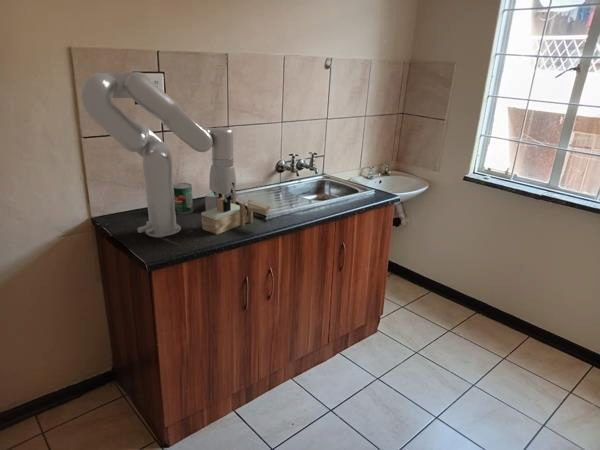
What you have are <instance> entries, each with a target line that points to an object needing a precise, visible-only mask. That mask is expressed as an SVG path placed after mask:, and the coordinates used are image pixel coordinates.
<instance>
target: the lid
mask: <svg viewBox="0 0 600 450" xmlns="http://www.w3.org/2000/svg"><path fill="white" fill-rule="evenodd" d="M223 202H225V201H224V197H222V198H219V199H217V208H214V209H211V210H208V211H206V210H204V211H202V212H201V213H200V214H201V217H202V216H205V217H208V218H211V219H214V220H217V219H220V218H223V217H226V216H229V215H232V214H235V213H238V212H240V204H237V203H236V204H233V203H231V210H230V211H227V212H224V210H223Z"/></svg>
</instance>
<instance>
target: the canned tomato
mask: <svg viewBox="0 0 600 450" xmlns="http://www.w3.org/2000/svg"><path fill="white" fill-rule="evenodd" d="M173 188H174V200H175V214H181V215H183V214H184V215H185V214H189V213H192V212H194V202H193V185H192V184H191V183H187V182H178V183H173Z"/></svg>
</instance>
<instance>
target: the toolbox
mask: <svg viewBox="0 0 600 450" xmlns="http://www.w3.org/2000/svg"><path fill="white" fill-rule="evenodd" d="M236 198H237V197H234V198H233V199H232V201H231V203H233V204H236V205H237V201H236ZM250 201H254V200H253V199H248V200H247V203H248V202H250ZM239 206H240V212H238V213H235V214H232V215H229V216H226V217H223V218H220V219H217V220H214V219H211V218H208V217H205V216H202V215H201V229H202V230H204V231H207V232H208V233H209V232H210V233H212V234H215V235H219V234H222V233H224V232H227V231H229V230H233V229H234V228H237V227H240V226H241V227H245V226H246V224H247V223H249V224H253V223H254V212H253V211H250V210H248V209H246V207H245V206H246V203H245V202H243V201H241V202H239Z"/></svg>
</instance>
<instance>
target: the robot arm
mask: <svg viewBox="0 0 600 450" xmlns="http://www.w3.org/2000/svg"><path fill="white" fill-rule="evenodd" d="M112 99H132V100H133V101H134V102H135V103H136V104H138V105H139V106H140V107H142V108H143V109H144V110H145V111H147V112H148V113H149V114H151V115H152V116H153V117H154V118H155V119H157V120H158V121H159V122H160V123H161V124H162V125H163V126H165V127H166V128H167V129H168V130H169V131H170V132H172V133H173V134H174V135H175V136H176V137H178V139H180V140H181V141H182V142H183V143H185V145H187V146H189V147H190V148H191V149H192V150H194V151H196V152H198V153H205V152H208V151H209V150H211V154H212V157H211V161H212V164H211V166H210V169H209V179H208V181H209V183H208V184H209V190H210V191H211V192H213V193H214V195H215V198H216V199H219V198H222V197H223V195H224V201H225V202H223V210H224V212H227V211H230V210H231V201H232V199H233V198H234V197H236V198H237V197H238V195H237V179H236V178H237V177H236V176H237V175H236V171H235V166H234V132H233V130H232V129H231V128H230V127H224V126H223V127H221V126H220V127H209V126H201V125H199V124H197V123H196V122H195V121H194V120H193V119H192V118H191V117H190V116H188V114H186V112H185V111H184V110H183V108H182V107H181V106H180V105H179V104H178V102H177V101H175V100H174V99H173V98H172V97H171V96H169V95H168V94H167V93H166V92H164V91H163V90H162V89H161V88H159V87H158V85H156V83H154V82H152V81H151V79H150V78H149V76H148V75H147V74H146V73H144V72H139V71H133V72H112V71H111V72H104V71H103V72H97V73H94V74H93V73H92V74H91V75H90V76H88V77H87V79H86V80H84V83H83V86H82V89H81V101H82V106H83V107H84V110H85V112H86V113H87V115H88V116H89V117H90V118H91V119H92V120H93V121H94V122H95V123H96V124H98V126H100V128H101V129H103V130H104V131H105V132H106V133H107V135H109V136H110V137H111V138H113V140H115V141H116V142H117V143H118V144H119V145H120V146H121V147H122V148H123V149H125V150H126V151H128V152H130V153H131V152H132V153H137V154H138V155H139V156H140V157H141V158H142V170H143V178H144V184H145V192H146V193H145V194H146V195H145V196H146V202H147V214H148V220H147V221H145V222H146V224H145V225H143V226H139V227H137V232H138V233H140V234H141V233H144V232H145V234H146V235H147V236H149V237H152V238H159V239H161V238H164V237H166V236H167V237H168V236H172V235H175V234H177V233H179V232H180V231H181V229H182V227H181V226H180V225H179V224H178V223H177V217H176V214H177V213H176V212H175V200H174V188H173V185H174V178H173V177H174V176H173V158H172V157H173V155H172V152H171V149H170V147H169V146H168V145H167V144H166V143H165V142H164V141H163V140H162V139H161V138H160V137H159V136H158V135H156V134H155V133H154V131H152V130H151V129H150V128H149V127H148V126H147V125H145V124H144V123H143V122H141V121H138V120H132V119H131V118H129V116H127V115H126V114H125V112H123V111H122V110H121V109H120V108H119V107H117V105H115V104H114V102H113V101H112ZM227 195H228V197H227Z"/></svg>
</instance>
